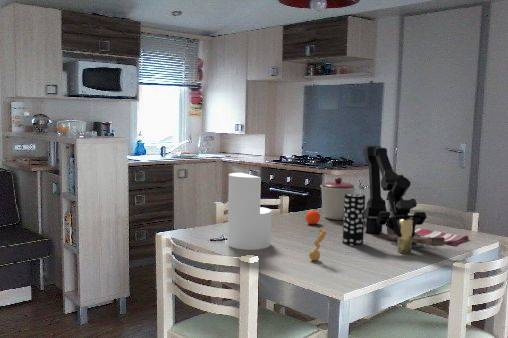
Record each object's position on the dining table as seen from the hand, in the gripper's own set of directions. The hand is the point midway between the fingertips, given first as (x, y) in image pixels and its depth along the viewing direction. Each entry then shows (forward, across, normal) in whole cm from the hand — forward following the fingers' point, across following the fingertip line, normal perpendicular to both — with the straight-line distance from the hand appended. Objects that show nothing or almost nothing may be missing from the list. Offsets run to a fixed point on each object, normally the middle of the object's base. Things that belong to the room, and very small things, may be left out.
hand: (406, 236), depth 198 cm
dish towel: (-12, +24, +23) cm, 35 cm away
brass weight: (+4, 0, +6) cm, 7 cm away
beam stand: (-4, +6, +13) cm, 15 cm away
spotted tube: (-7, -16, +16) cm, 24 cm away
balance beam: (-3, +7, +8) cm, 11 cm away
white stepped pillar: (-7, -59, +17) cm, 61 cm away
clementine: (-33, -24, +43) cm, 59 cm away
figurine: (+11, -37, -1) cm, 38 cm away
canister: (-43, -8, +53) cm, 69 cm away
